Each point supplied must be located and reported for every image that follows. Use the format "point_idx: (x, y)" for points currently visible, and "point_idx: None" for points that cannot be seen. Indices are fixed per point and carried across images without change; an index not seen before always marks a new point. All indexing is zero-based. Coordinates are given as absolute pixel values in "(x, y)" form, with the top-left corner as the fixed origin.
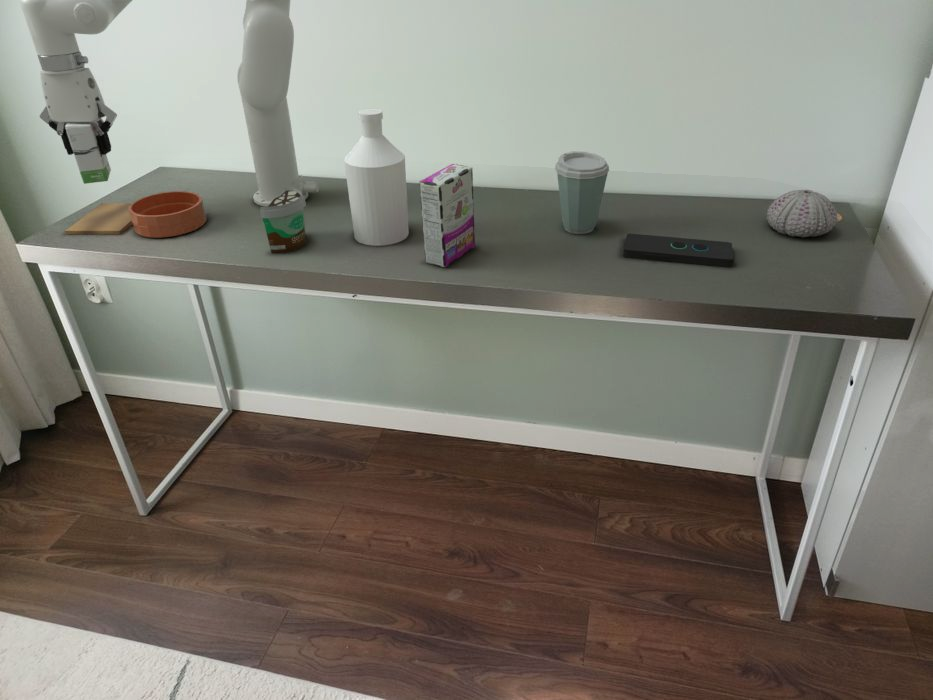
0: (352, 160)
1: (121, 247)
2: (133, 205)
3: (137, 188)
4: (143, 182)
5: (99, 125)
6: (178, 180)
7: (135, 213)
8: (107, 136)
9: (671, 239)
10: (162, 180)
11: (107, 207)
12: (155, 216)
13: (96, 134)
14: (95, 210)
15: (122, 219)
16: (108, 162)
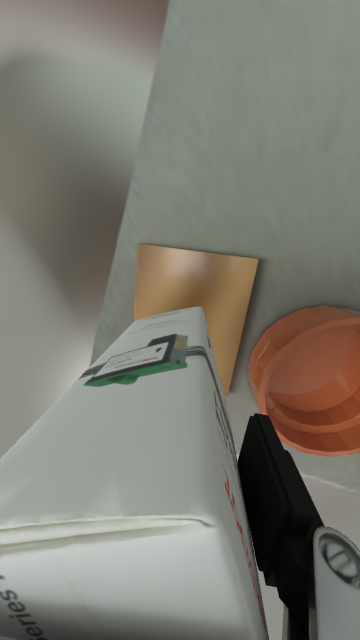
0: None
1: (242, 438)
2: (264, 388)
3: (182, 98)
4: (183, 29)
5: (315, 622)
6: (295, 14)
7: (281, 437)
8: (314, 520)
9: None
10: (241, 9)
11: (162, 274)
12: (325, 455)
13: (250, 538)
14: (143, 288)
15: (217, 346)
16: (204, 319)
